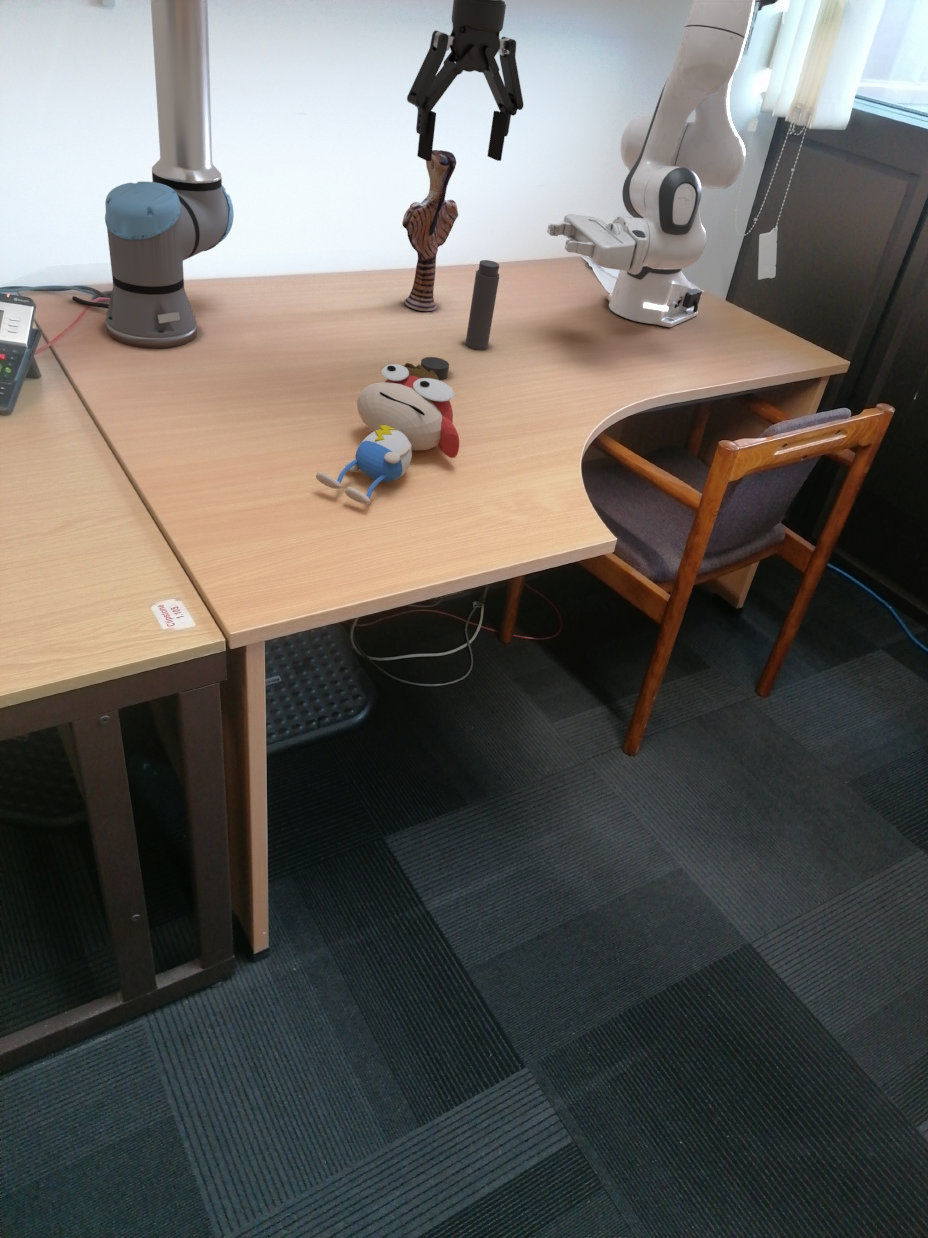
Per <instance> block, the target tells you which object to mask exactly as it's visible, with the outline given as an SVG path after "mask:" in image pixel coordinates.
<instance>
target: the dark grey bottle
mask: <svg viewBox="0 0 928 1238" xmlns="http://www.w3.org/2000/svg"><path fill="white" fill-rule="evenodd" d="M499 269H500V264H499V263H498V262H496V261H494V260H491V259H490V260H489V259H483V260H480V261H479V264H478V269H477V270H476V271H475V277H474V284H473V291H472V296H471V304H470V311H469V317H468V324H467V330H466V338H465V346H466V347H468V349H472V350H476V351H485V350H487V349H488V348H489V342H490V337H491V330H492V324H493V318H494V312H495V305H496V299H497V293H498V287H499V283H500V282H499V281H500V273H499Z"/></svg>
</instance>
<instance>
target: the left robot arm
mask: <svg viewBox="0 0 928 1238" xmlns="http://www.w3.org/2000/svg"><path fill="white" fill-rule="evenodd" d="M208 2H209V1H208V0H150V11H151V23H152V24H151V26H152V28H151V29H152V30H151V31H152V44H153V45H152V46H153V61H154V77H155V78H154V79H155V95H156V109H157V110H156V111H157V128H158V143H159V160H157V161H156V162H155V163H154V164H153V166H152V167H151V179H152V181H137V182H135V183H134V182H127V183H123V184H120V185H117V186H115V187H114V188H113V189H111V190H110V191H109V192H108V194H107V195H106V197H105V201H104V202H105V205H104V206H105V214H104V222H105V226H106V229H107V230H106V231H107V232H106V233H107V241H108V250H109V259H110V268H111V277H112V291H111V295H110V300H109V303H103V302H96V301H89V300H85V299H83V298H80V297H78V296H75V295H73V296H72V298H71V300H72V301H73V302H76V303H78V304H80V305H84V306H87V307H92V308H101V309H107V311H106V315H105V326H106V328H105V329H106V332H107V334H108V335H109V336H110V337H111V338H112V339H114V340H116V341H117V342H120V343H123V344H126V345H130V346H133V347H140V348H152V349H157V348H160V349H163V348H171V347H177V346H182V345H184V344H187V343H189V342H191V341H193V340H194V339H195V338H196V337H197V335H198V324H197V320H196V317H195V315H194V311H193V309H192V306H191V304H190V300H189V298H188V296H187V293H186V290H185V278H184V261H185V260H188V259H190V258H192V257H194V256H196V255H198V254H200V253H202V252H207V251H210V250H211V249H212V250H213V249H214V248H215V247H217V246H218V245H219V244H220V243H221V242H223V241H224V240H225V239H226V238H227V236H228V235H229V234H230V231H231V229H232V227H233V223H234V216H235V215H234V214H235V213H234V206H233V202H232V198H231V196H230V194H228V193H227V190H226V188H225V187H224V185H223V181H222V180H223V178H222V173H221V171H219V170H218V168H217V167H216V166H215V165H214V163H213V146H212V145H213V143H212V110H211V109H212V108H211V107H212V106H211V104H212V103H211V75H210V74H211V73H210V37H209V35H210V32H209V3H208ZM506 9H507V4H506V2H505V1H504V0H453V2H452V11H451V23H452V30H451V33H450V34H447V33H445V32H442V31H439V30H434V31H433V32H432V35H431V40H430V43H429V44H430V45H429V49H428V51H427V53H426V55H425V57H424V59H423V62H422V64H421V65H420V68H419V70H418V73H417V75H416V77H415V79H414V81H413V83H412V85H411V88H410V90H409V91H408V94H407V96H406V101H407V102H408V103H409V104H411V105H413V106H415V107H416V108H417V117H416V126H415V127H416V128H415V130H416V134H418V135H419V136H418V144H417V155H416V156H417V157H418V158H420V159H422V160H424V161H425V162H426V161H431V157H432V150H433V149H434V137H435V130H436V129H435V128H436V120H437V112H435V111H432V110H433V109H434V107H435V106H436V105H437V104H438V102H439V101H440V100H441V99H442V97H443V95H444V94H445V93H446V91H447V90H448V89H449V88H450V86H451V84H452V83H454V81H455V79H456V78H457V76H459V75H461V74H462V73H463V72H467V73H472V72H477V73H482V74H483V75H484V78H485V80H486V83H487V86H488V87H489V89H490V91H491V94H492V97H493V99H494V101H495V103H496V105H497V108H498V110H493V115H492V120H491V121H492V122H491V128H490V133H489V134H490V135H489V140H488V141H489V142H488V149H487V157H488V158H490V159H493V160H495V161H496V162H497V161H498V162H501V161H502V156H503V151H504V150H503V149H504V144H505V137H508V135H509V132H510V125H511V119H512V116H516V115H517V112H518V111H521V110H523V109H524V99H523V93H522V88H521V81H520V77H519V70H518V63H517V59H516V54H517V53H516V52H517V41H516V40H515V39H514V38H510V37H507V36H501V38H500V32H501V31H502V30H503V28H504V22H505V17H506ZM449 50H450V52H449V54H448V55H447V56H446V54H447V52H448V51H449ZM497 54H498V55H499V62H500V67H499V64H498V62H497V60H496V56H497ZM445 56H446V58H445ZM442 63H443V65H442ZM441 65H442V67H441ZM440 67H441V68H440ZM500 68H501V73H502V76H501V73H500ZM502 77H503V79H502Z"/></svg>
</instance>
